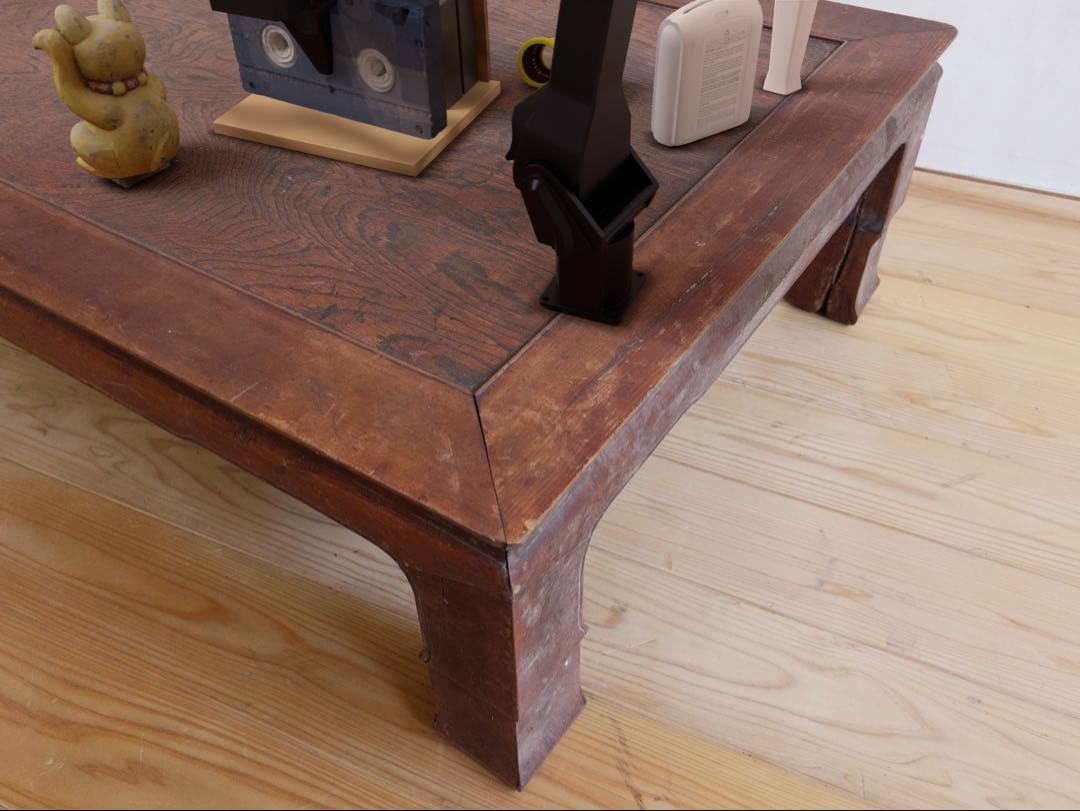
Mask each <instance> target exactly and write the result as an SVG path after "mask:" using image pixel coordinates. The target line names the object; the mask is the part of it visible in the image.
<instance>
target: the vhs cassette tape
mask: <svg viewBox="0 0 1080 811" xmlns="http://www.w3.org/2000/svg"><path fill="white" fill-rule="evenodd" d="M226 16H227V21H228V26H229V30H230V36H231V41H232V44H233V50H234V55H235V57H236V62H237V63H238V72H239V78H240V80H241V83H242V89H243V90H244V91H245V92H246V93H250V94H256V95H261V96H266V97H269V98H272V99H276V100H279V101H283V102H287V103H290V104H294V105H298V106H301V107H305V108H309V109H313V110H317V111H320V112H324V113H329V114H333V115H336V116H339V117H343V118H346V119H349V120H353V121H357V122H361V123H365V124H369V125H373V126H376V127H380V128H384V129H387V130H391V131H395V132H399V133H402V134H406V135H410V136H414V137H417V138H421V139H427V140H430V139H433V138H435V137H436V136H437V135H438V134H439V132H442V130H444V129H445V128H446V127H447V107H446V106H447V99H446V86H445V68H444V59H443V43H442V34H440V30H441V15H440V5H439V0H336V1H335V2H334V3H333V5H332V6H331V7H330V21H331V35H332V48H333V73H332V74H331V75H323V74H320V73H318V71H317V70H316V69H315V67H314V66H313V64H312V63H311V61H310V60H309V59H308V57H307V56H306V54H305V53H304V52H303V50H302V49H301V47H300V46H299V45H298V43H297V42H296V40H295V39H294V38H293V36H292V35H291V33H290V32H289V31H288V29H287V28H286V27H285V25H284V24H283V23H282V22H281V21H279V22H274V21H269V20H263V19H257V18H252V17H246V16H240V15H235V14H229V13H226Z"/></svg>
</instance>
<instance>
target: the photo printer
mask: <svg viewBox="0 0 1080 811" xmlns="http://www.w3.org/2000/svg"><path fill="white" fill-rule="evenodd" d="M763 15H764V14H763V9H762V6H761V4H760V2H759V0H694V1H691V2H689V3H687V4H685V5H683V6H681V7H680V8H678V9H676V10H675V11H673V12H672V13H671V14H669V15H668V16H667V17H666V18H664V20H662V22H661V23H660V26H659V28H658V32H657V39H656V40H657V41H656V52H655V53H656V54H655V67H654V80H653V93H652V104H651V106H652V107H651V122H650V124H651V125H650V128H651V129H650V130H651V132H652V133H653V138H654V140H655V141H656V142H658V143H659V144H661V145H663V146H667V147H677V146H683V145H687V144H690V143H692V142H695V141H698V140H701V139H705V138H707V137H710V136H713V135H716V134H719V133H721V132H724V131H728V130H730V129H734V128H737V127H738V126H741V125H742V124H744V123H747V121H748V120H749V118H750V113H751V107H752V102H753V101H752V100H753V93H754V87H755V79H756V71H757V65H758V59H759V52H760V47H761V46H760V45H761V38H762V32H763V25H764V16H763Z"/></svg>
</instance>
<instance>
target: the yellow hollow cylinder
mask: <svg viewBox="0 0 1080 811" xmlns="http://www.w3.org/2000/svg"><path fill="white" fill-rule="evenodd" d="M554 42H555V37H550V38H547V37H543V36H535V37H533V38H531V39H529V40H527V41H525V42H524V43H523V44H522V45H521V47H520V48H519V51H518V52H517V57H516V58H517V59H516V67H517V71H518V73H519V75H520V77H521V78H522V80H523V81H524V82H525V83H526V84H528V85H529V86H531V87H533V88H537V89H538V88H540V87H541V86H543V85H544V84H545V83H547V82H548V81H549V77H550V70H551V66H549V65H548V64H547V63H546V61H545V58H544V50H545V48H546V47H549V48H550V49H551V50H552V51H553V49H554Z"/></svg>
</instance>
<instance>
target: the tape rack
mask: <svg viewBox="0 0 1080 811" xmlns="http://www.w3.org/2000/svg"><path fill="white" fill-rule="evenodd" d="M439 5H440V15H441V30H440V34H442V43H443V59H444V68H445V86H446V99H447V106H446V107H447V127H446V128H445V129H444V130H442V132H439V134H438V135H437V136H436V137H435V138H433V139H430V140H427V139H421V138H417V137H414V136H410V135H406V134H402V133H399V132H395V131H391V130H387V129H384V128H380V127H376V126H373V125H369V124H365V123H361V122H357V121H353V120H349V119H346V118H343V117H339V116H336V115H333V114H329V113H324V112H320V111H317V110H313V109H309V108H305V107H301V106H298V105H294V104H290V103H287V102H283V101H279V100H276V99H272V98H269V97H266V96H261V95H256V94H253V93H250V95H248V96H247V97H246V98H244V99H243V100H241V101H240V102H238V103H237V104H236V105H234V106H233V107H231V108H230V109H229V110H227V111H226V112H224V113H223V114H222V115H220V116H219V117H218V118H216V119H214V120H213V121H212V125H213V129H214V132H215V134H218V135H222V136H227V137H232V138H237V139H241V140H246V141H250V142H254V143H258V144H263V145H268V146H273V147H277V148H281V149H282V148H283V149H287V150H291V151H295V152H300V153H305V154H309V155H313V156H317V157H323V158H326V159H333V160H335V161H336V160H337V161H342V162H345V163H350V164H356V165H360V166H364V167H368V168H372V169H373V168H374V169H376V170H382V171H387V172H390V173H396V174H400V175H405V176H409V177H414V178H416V177H417V176H418V175H419V174H420V173H421V172H422V171H424V170H425V168H426V167H428V165H429V164H430V163H431V162H432V161H434V159H436V157H437V156H438V155H439V154H440V153H442V151H443V150H444V149H445V148H446V147H447V146H449V144H451V142H452V141H453V140H454V139H455V138H457V136H459V135H460V134H461V133H462V132H463V130H464V129H465V128H467V126H468V125H470V124H471V122H473V121H474V120H475V119H476V118H477V116H479V115H480V114H481V113H482V111H484V109H486V107H488V106H489V105H490V104H491V103H492V102H493V101H494V100H495V99H496V98H497V97H498V96H499V95H500V94H501V92H502V90H501V81H499V80H493V79H492V69H491V68H492V67H491V48H490V29H489V28H490V27H489V11H488V0H439Z"/></svg>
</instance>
